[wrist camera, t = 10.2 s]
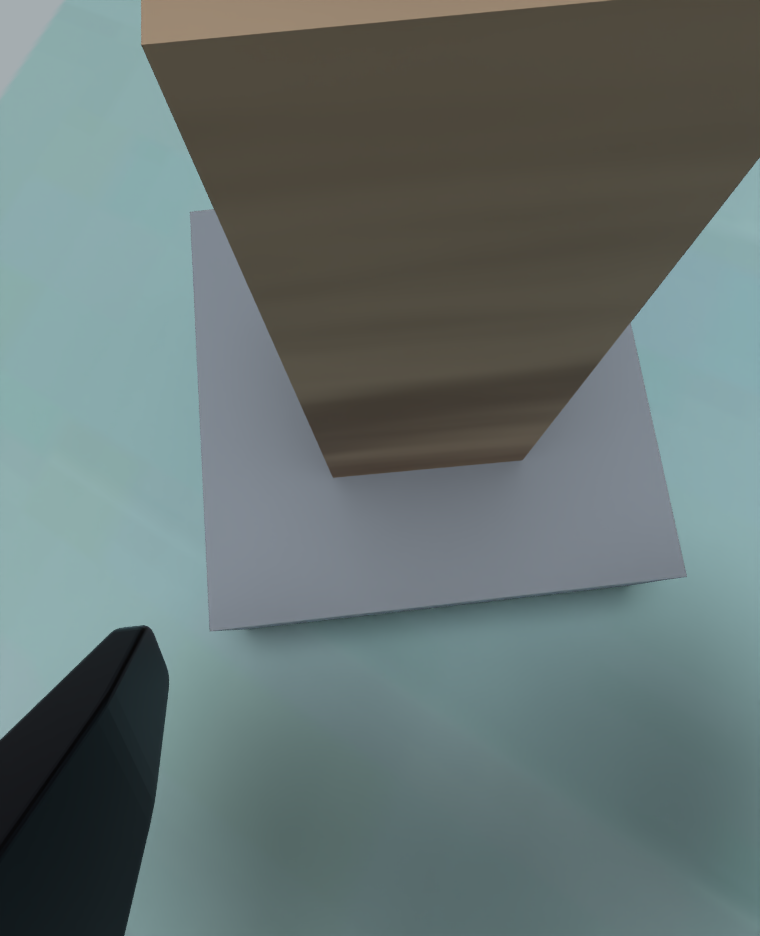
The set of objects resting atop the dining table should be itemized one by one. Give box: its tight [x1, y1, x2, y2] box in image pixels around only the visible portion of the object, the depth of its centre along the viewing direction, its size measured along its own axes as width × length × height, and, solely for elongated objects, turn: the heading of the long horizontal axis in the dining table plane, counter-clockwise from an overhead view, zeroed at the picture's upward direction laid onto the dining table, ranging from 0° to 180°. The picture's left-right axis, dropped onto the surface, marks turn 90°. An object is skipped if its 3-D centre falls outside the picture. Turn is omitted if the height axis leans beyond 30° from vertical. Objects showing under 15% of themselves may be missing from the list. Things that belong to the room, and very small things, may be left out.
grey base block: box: [190, 209, 687, 631], centre depth 19 cm, size 12×12×4 cm
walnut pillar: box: [141, 0, 760, 478], centre depth 11 cm, size 5×5×13 cm
